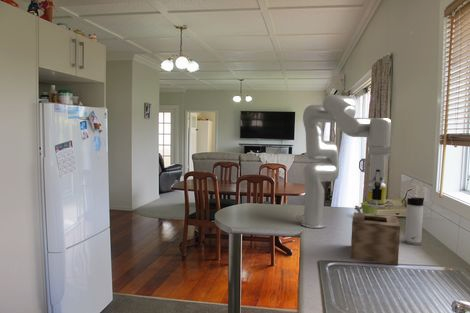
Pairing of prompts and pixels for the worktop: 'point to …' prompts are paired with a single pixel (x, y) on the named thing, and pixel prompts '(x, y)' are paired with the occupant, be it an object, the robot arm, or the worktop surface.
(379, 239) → the box
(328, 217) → the worktop surface
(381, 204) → the pill bottle
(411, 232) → the travel mug
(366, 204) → the plant pot
